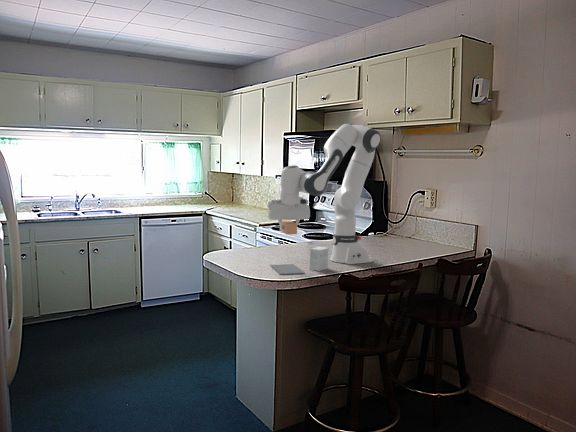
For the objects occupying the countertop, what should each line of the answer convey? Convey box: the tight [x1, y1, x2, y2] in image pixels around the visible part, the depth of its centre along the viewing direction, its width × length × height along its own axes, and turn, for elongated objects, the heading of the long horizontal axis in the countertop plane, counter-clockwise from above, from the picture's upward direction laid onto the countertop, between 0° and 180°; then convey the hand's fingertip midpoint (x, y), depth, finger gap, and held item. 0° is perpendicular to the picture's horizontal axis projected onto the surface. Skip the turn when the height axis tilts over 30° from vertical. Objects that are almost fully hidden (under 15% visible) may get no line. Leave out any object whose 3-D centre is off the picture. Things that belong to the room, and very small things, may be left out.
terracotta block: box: [279, 220, 298, 235], centre depth 233 cm, size 5×5×12 cm
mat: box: [269, 263, 306, 276], centre depth 236 cm, size 12×18×1 cm, turn 17°
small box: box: [309, 246, 329, 272], centre depth 239 cm, size 8×6×10 cm
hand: (288, 228), depth 233 cm, fingers closed on terracotta block, 5 cm apart
